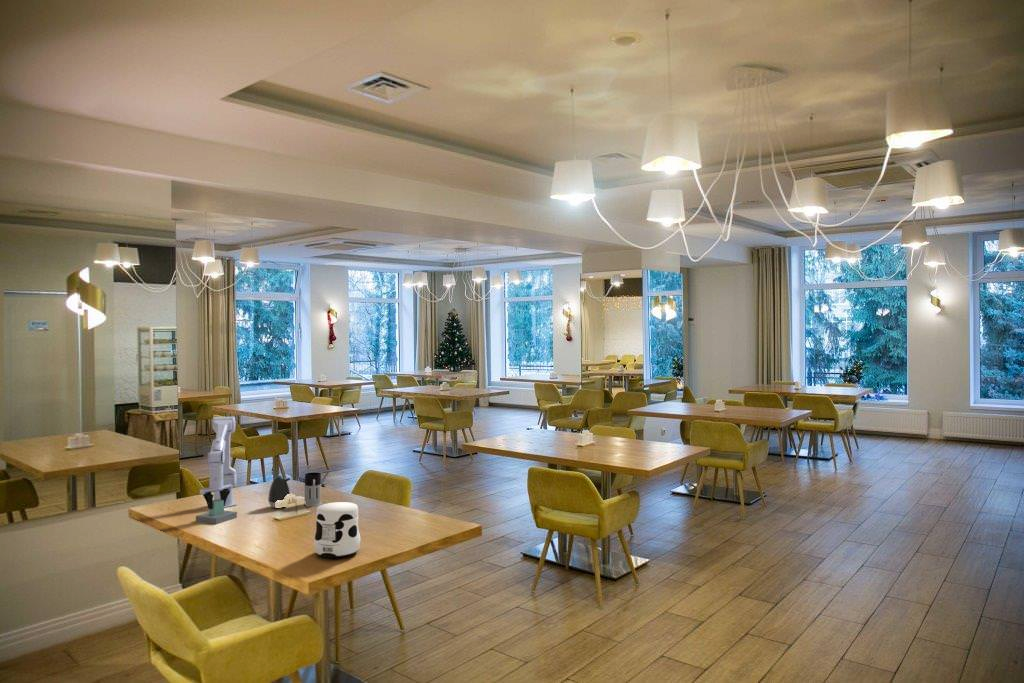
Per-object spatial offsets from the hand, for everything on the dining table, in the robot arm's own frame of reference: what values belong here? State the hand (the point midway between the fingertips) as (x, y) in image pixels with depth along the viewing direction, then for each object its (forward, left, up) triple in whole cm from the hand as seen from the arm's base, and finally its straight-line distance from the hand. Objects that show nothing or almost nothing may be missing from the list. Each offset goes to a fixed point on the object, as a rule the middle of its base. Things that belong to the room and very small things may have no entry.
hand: (216, 507), depth 309 cm
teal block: (0, 0, -3) cm, 3 cm away
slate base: (0, 0, -5) cm, 5 cm away
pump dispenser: (+4, +30, -6) cm, 31 cm away
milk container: (+82, +2, -6) cm, 82 cm away
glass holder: (+14, +42, -6) cm, 45 cm away
